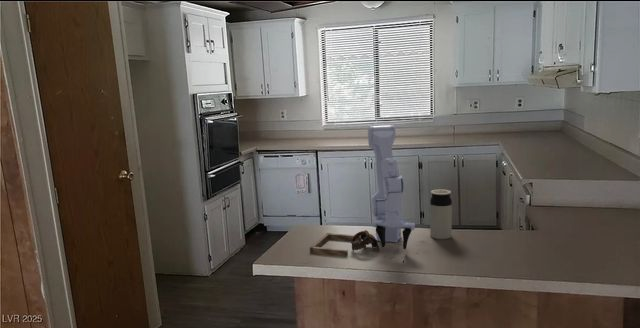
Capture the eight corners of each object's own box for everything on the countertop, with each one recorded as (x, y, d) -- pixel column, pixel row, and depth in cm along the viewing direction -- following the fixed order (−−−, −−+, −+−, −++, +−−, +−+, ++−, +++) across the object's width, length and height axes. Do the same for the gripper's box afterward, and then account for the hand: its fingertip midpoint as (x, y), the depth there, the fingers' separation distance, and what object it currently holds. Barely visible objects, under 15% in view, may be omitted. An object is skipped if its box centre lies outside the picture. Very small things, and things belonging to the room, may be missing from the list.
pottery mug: (382, 256, 166) (371, 238, 164) (358, 266, 169) (347, 249, 166) (379, 237, 177) (369, 220, 174) (357, 247, 180) (347, 231, 177)
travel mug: (449, 240, 177) (450, 194, 174) (428, 238, 180) (428, 193, 177) (452, 234, 185) (453, 189, 182) (432, 232, 188) (432, 188, 185)
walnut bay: (361, 240, 181) (361, 236, 181) (346, 256, 166) (346, 251, 165) (327, 237, 187) (327, 232, 187) (310, 252, 171) (309, 247, 171)
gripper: (370, 212, 164) (371, 249, 167) (411, 214, 159) (412, 253, 161) (376, 207, 171) (376, 242, 173) (415, 209, 165) (416, 246, 167)
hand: (394, 247), depth 167 cm, fingers open, 7 cm apart
